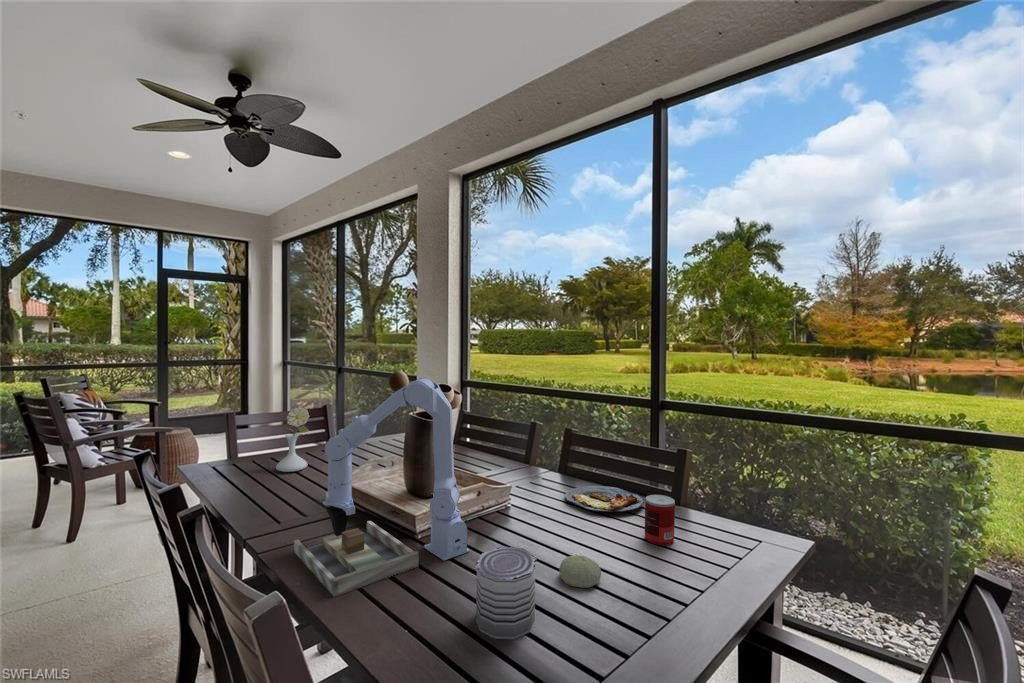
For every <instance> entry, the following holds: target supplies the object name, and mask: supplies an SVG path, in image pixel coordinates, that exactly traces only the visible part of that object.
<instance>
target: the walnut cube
mask: <svg viewBox="0 0 1024 683" xmlns="http://www.w3.org/2000/svg"><path fill="white" fill-rule="evenodd" d="M363 532H364V531H362V530H361V529H360V528H358V527H357V528H354V529H353V528H352V529H349V530H345V532H342V549H343V550H344V551H345V552H346V553H347V554H352V553H355V552H358V551H362V550H364V533H363Z"/></svg>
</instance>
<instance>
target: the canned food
mask: <svg viewBox="0 0 1024 683" xmlns="http://www.w3.org/2000/svg"><path fill="white" fill-rule="evenodd" d="M675 502H676V501H675V499H674V498H672V497H671V496H667V495H662V494H650V495H647V496H645V500H644V539H645V540H646V541H647V542H648V543H650V544H653V545H658V546H669V545H672V543H674V541H675V540H674V539H675V520H676V519H675V517H676V514H675V513H676V503H675Z"/></svg>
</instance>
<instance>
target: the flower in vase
mask: <svg viewBox="0 0 1024 683" xmlns="http://www.w3.org/2000/svg"><path fill="white" fill-rule="evenodd" d="M309 414H310V413H309V410H308V409H306V408H304V407H300V406H299V407H297V408H296V407H294V409H291V410H290V412H288V415H286V420H287V423H288V425H289V426H292V427H293V426H294V427H295V428H297V429H296V430H295V431H294V430H293V429H291V428H288V427H285V428H286V429H287V430H290V431H292V432H294V433H289V434H285V435H284V436H285V438H286V440H287V442H288V452H287V455H286V456H285V457H283V458H282V459H281V460H280V461H279V462H278V463H277V464H276V466H275V469H276V470H277V471H279V472H284V473H287V472H288V473H291V472H298V471H301V470H304V469H305V468H306V467H307V466H308V462H307V461H306V460H305V459H304V458H303V457H301V456H299V455H298V454H297V453H296V444H297V443H296V442H297V439H298V438H299V436H300V434H298V433H297V431H298V432H300V433H301V434H302V433H303V434H304V433H307V432H309V431H310V430H309V429H308V428H307V427H306V426H305V425H306V423H307V421H309V418H310V415H309Z"/></svg>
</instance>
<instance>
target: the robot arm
mask: <svg viewBox="0 0 1024 683" xmlns="http://www.w3.org/2000/svg"><path fill="white" fill-rule="evenodd" d="M410 405H411V406H413V407H416V408H418V409H422V410H424V411H425V412H426V413H427V414H428V415H430V417H431V418H432V429H433V430H432V432H433V433H432V435H433V460H434V462H433V463H434V464H433V465H434V483H433V493H432V494H433V498H432V500H431V503H430V506H429V509H430V543H428V544H427V543H426V544H423V548H424V549H425V550H427V551H428V552H430V553H431V554H433V555H434V556H436V557H438V558H439V559H440V560H442V561H446V560H447V561H448V560H450V559H452V558H455V557H457V556H461V555H464V554H466V553H469V552H470V548H468V526H467V524H466V523H465V522H464V521H463V519H462V518H461V515H460V514H461V513H460V510H459V507H458V506H457V504H458V502H459V501H460V498H461V492H460V489H459V487H458V485H457V478H456V476H455V466H454V465H455V464H454V462H455V461H454V438H453V437H454V435H453V434H454V433H453V407H452V405H451V403H450V401H449V400H448V399H447V396H445V394H444V393H443V390H442V389H441V387H440V385H439V384H438V383H437V382H435V381H434V380H433V379H431V378H429V377H425V376H424V377H419V378H417V379H416V380H413V381H411V382H409V383H408V384H407V385H405V386H403V387H401V388H400V389H398V390H396V391H395V392H393V393H392V394H391V395H390V396H389V397H388V398H386V400H385V401H383V402H382V403H381V404H380V405H379V406H377V407H376V408H375V409H374V410H373V411H372V412H371V413H369V414H360V415H359V416H358V415H355V416H354V417H353V418H352V419H351V420H352V421H351V422H350V423H349V424H348V425H347V426H345V427H344V428H341V429H339V430H338V431H337V433H338V434H337V435H335V436H333V437H330V438H329V439H328V440H327V442H326V443H325V445H324V453H325V455H326V457H327V460H328V462H327V464H328V465H327V491H326V492H325V500H323V501H322V504H323V505H324V506H325V507H326V508H325V510H326V512H327V514H328V516H329V519H330V522H331V525H332V531H333V533H334V534H333V535H336V536H340V535H342V532H345V531H347V530H346V529H347V526H348V525H347V524H348V522H349V519H350V517H351V515H355V514H356V506H355V505H354V501H353V495H352V492H353V491H352V490H353V488H352V482H353V481H352V479H353V478H352V476H353V475H352V473H353V469H352V467H353V465H352V464H353V463H352V457H353V454H352V453H353V452H354V451H355V449H356V448H358V447H359V446H360V445H362V444H363V443H365V441H366V440H368V439H369V438H370V437H371V436H372V435H374V434H375V433H376V432H377V425H378V424H379V423H380V422H382V421H383V420H384V419H385V418H387V417H388V416H390V414H392V413H393V412H395V411H396V410H397V409H398V408H399V407H400V408H402V407H407V406H410Z"/></svg>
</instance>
